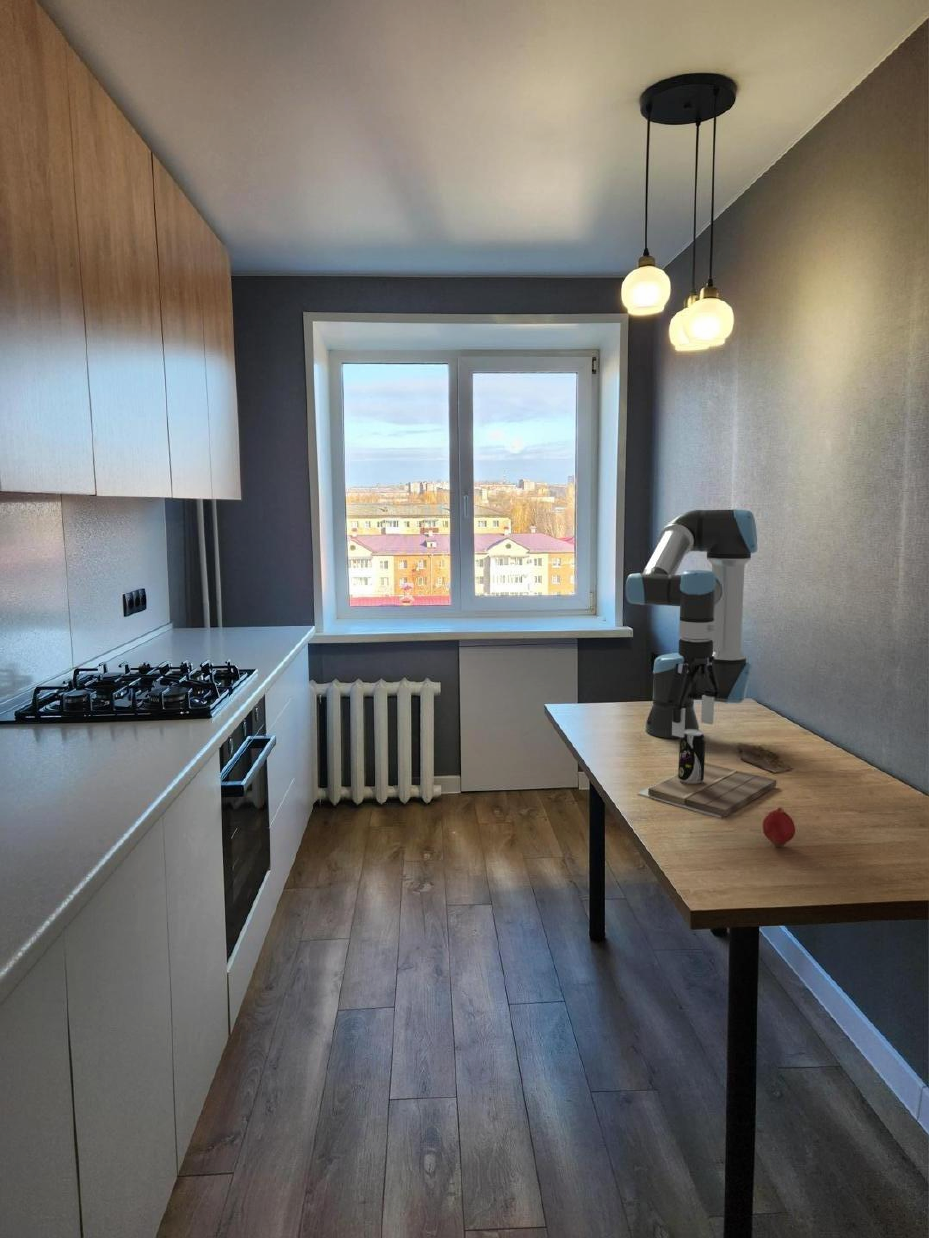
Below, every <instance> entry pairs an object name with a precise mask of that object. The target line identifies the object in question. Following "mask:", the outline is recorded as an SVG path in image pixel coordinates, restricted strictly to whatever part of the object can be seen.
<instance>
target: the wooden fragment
mask: <svg viewBox="0 0 929 1238" xmlns="http://www.w3.org/2000/svg"><path fill="white" fill-rule="evenodd" d="M738 748H739V749H738V750H739V757H740V760H742V761H745V762H748V763H750V764H753V765H755V766H757V767H760V768H762V769H765V770H766V771H770V772H772V773H773V774H774V775H775V774H783V773H785V772H789V771H790V770H793V767H792V766H789V765H788V764H786V763H784V761H782V760H779V758H780V755H779V754H777V753H775V752H772V751H771V749H770V750H769V749H765V747H762V746H755V745H751V744H747V743H741V742H739V743H738Z"/></svg>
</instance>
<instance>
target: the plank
mask: <svg viewBox="0 0 929 1238" xmlns="http://www.w3.org/2000/svg"><path fill="white" fill-rule="evenodd" d="M737 772H739V771H738V770H736V769H730V768H727V767H724V766H719V765H717V764H713V763H707V762H705V763H704V780H703V781H702V782H700V783H699V784H694V785H692V784H686V783H683V782H682V781H681V780H679V778H678V775H677V774H675V775H676V776H675V775H673V776H674V777H673V776H671V777H672V778H671V777H669V778H670V779H668V778H667V779H668V780H666V779H665V781H664V780H662V781H663V782H662V781H660V782H661V783H660V782H658V783H659V784H658V783H656V784H657V785H656V784H654V785H655V786H654V785H652V786H653V787H651V786H650V787H651V788H649V787H647V788H648V794H649V795H652V796H655V797H659V798H662V799H665V800H669V801H672V802H675V803H679V804H682V805H686V799H687V798H689V797H691V796H693V795H695V794H697V793H699V792H701V791H703V790H705V789H706V788H708V787H710V786H712V785H714V784H716V783H718V782H720V781H722V780H724V779H726V778H728V777H729V776H731V775H733V774H735V773H737Z"/></svg>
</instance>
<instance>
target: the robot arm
mask: <svg viewBox="0 0 929 1238" xmlns="http://www.w3.org/2000/svg"><path fill="white" fill-rule="evenodd" d="M657 540H658V541H657V543H658V544H657V546H656V547H655V550H654V551H653V553H652V555H651V556H650V559H649V560H648V562H647V564H646V565H645V567H644V570H643V571H642V573H640V572H637V573H631V574H629V575H628V576H627V577H626V578H627V579H626V582H625V597H626V598H625V599H626V600H627V602H628V603H629V604H634V605H641V606H668V607H679V624H678V627H679V630H678V636H679V640H678V652H674V653H666V654H662V655H659V656H658V657H656V658H655V659H654V662H653V671H652V677H653V678H652V679H653V681H652V706H651V709H650V711H649V714H648V716H647V719H646V721H645V722H646V723H645V732H646V733H647V734H649V735H652V736H655V737H659V738H664V739H673V740H676V739H677V740H680V737H682V738H683V737H684V732H685V730H686V729H695V730H700V725H699V721H698V719H697V718H698V717H697V714H696V712H695V708H694V705H695V704H694V703H695V700H696V701H701V713H700V716H701V718H700V723H701V724H707V725H711V726H712V725H714V712H715V702H718V703H724V704H728V703H729V704H740V703H742V702H744V701H745V699H746V696H747V693H748V689H749V688H748V687H749V684H750V681H751V680H750V679H751V675H752V674H751V673H752V666H753V665H752V664H751V662H747V655H746V654H745V653H744V652H743V651H742V632H743V631H742V630H743V629H742V628H743V608H744V585H745V584H744V583H745V566H746V564H747V563H748V562H749V561H750V560H751V559H752V558H751V557H752V554H754V553H756V552H757V551H758V534H757V524H756V520H755V516H754V514H753V512H752V511H751V510H747V509H737V508H734V509H695V510H689V511H686V512H684V513H681V514H680V515H678V516H676V517H674V518H673V519H670V521H668V522H667V523H666V524H665V525H664V526H663V527H662V529H661V531H660V533H659V535H658V538H657ZM690 552H703V553H704V552H705V553H706V560H708V562H709V563H710V564H711V570H704V569H691V570H684V571H683V572H682V573H681V574H677V571H678V569H679V567H680V565H681V564H682V561H683V559H684V557H685V556H686V555H687V554H689V553H690Z"/></svg>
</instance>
